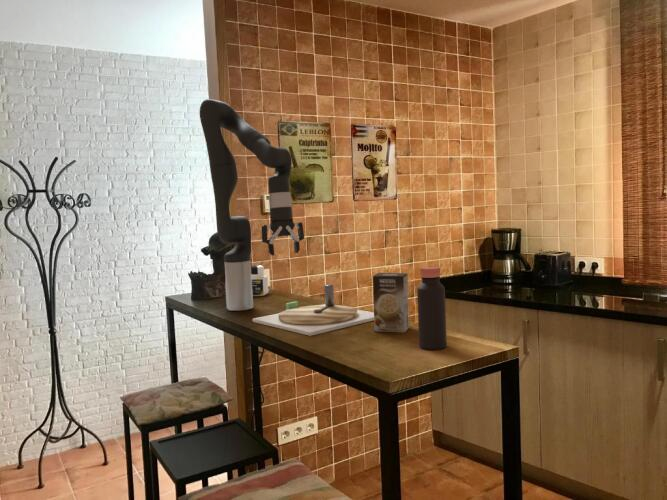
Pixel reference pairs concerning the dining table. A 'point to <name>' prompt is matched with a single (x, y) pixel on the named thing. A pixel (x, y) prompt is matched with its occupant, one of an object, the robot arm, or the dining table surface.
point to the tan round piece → (319, 312)
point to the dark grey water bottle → (431, 310)
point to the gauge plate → (313, 328)
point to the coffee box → (390, 302)
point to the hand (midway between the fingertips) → (284, 254)
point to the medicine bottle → (259, 281)
